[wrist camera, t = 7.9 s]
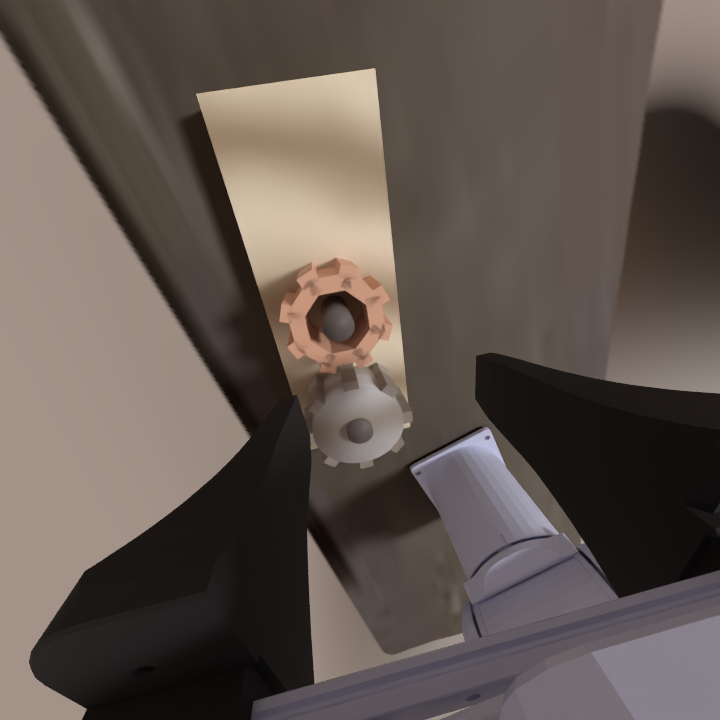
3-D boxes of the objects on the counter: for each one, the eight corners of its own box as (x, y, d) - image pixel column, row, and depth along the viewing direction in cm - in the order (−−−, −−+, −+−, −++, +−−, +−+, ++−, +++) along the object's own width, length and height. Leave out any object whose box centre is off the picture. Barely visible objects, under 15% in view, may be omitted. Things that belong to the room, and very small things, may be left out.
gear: (373, 250, 16) (385, 255, 13) (384, 341, 19) (396, 360, 16) (274, 269, 16) (266, 277, 13) (299, 359, 18) (297, 381, 16)
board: (404, 415, 23) (426, 460, 19) (310, 436, 23) (309, 487, 18) (369, 83, 14) (395, 16, 10) (207, 106, 14) (155, 48, 9)
